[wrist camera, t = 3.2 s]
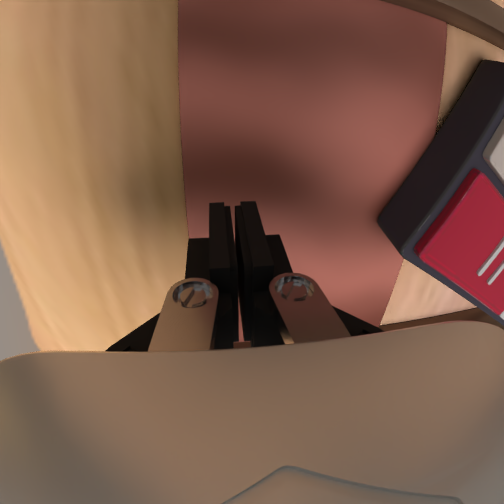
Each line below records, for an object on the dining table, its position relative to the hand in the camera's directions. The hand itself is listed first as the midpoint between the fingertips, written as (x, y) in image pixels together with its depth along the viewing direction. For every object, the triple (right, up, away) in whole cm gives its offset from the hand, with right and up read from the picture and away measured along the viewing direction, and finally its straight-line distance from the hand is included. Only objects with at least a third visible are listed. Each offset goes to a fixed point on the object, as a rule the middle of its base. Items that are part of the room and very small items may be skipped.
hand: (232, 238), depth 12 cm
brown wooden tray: (+16, +2, +4) cm, 16 cm away
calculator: (+16, +3, +4) cm, 16 cm away
